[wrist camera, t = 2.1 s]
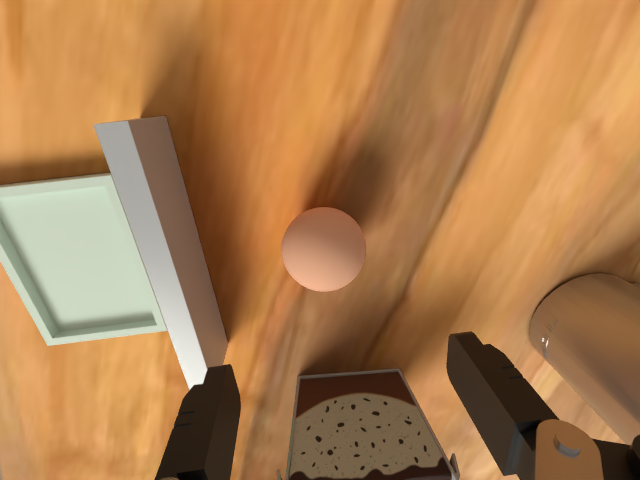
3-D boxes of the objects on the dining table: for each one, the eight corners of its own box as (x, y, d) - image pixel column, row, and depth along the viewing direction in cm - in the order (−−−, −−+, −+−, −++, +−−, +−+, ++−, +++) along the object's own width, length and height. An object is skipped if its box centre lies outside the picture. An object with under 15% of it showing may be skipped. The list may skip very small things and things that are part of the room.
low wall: (165, 115, 20) (127, 120, 15) (228, 344, 27) (214, 393, 23) (139, 118, 20) (93, 124, 15) (209, 346, 27) (191, 396, 23)
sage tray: (120, 171, 21) (110, 175, 20) (172, 320, 26) (167, 330, 25) (-22, 187, 21) (-39, 192, 20) (58, 335, 26) (47, 345, 25)
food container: (285, 424, 32) (282, 557, 22) (281, 377, 29) (274, 504, 20) (409, 413, 32) (455, 538, 23) (415, 367, 30) (469, 485, 21)
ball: (355, 192, 23) (373, 219, 18) (359, 261, 25) (376, 302, 20) (277, 201, 23) (273, 231, 18) (288, 270, 25) (287, 314, 20)
